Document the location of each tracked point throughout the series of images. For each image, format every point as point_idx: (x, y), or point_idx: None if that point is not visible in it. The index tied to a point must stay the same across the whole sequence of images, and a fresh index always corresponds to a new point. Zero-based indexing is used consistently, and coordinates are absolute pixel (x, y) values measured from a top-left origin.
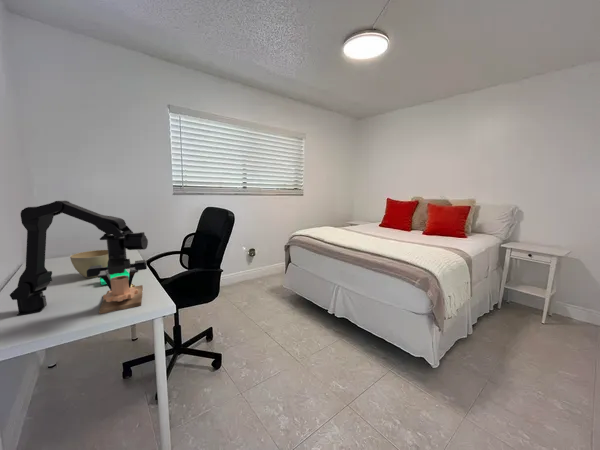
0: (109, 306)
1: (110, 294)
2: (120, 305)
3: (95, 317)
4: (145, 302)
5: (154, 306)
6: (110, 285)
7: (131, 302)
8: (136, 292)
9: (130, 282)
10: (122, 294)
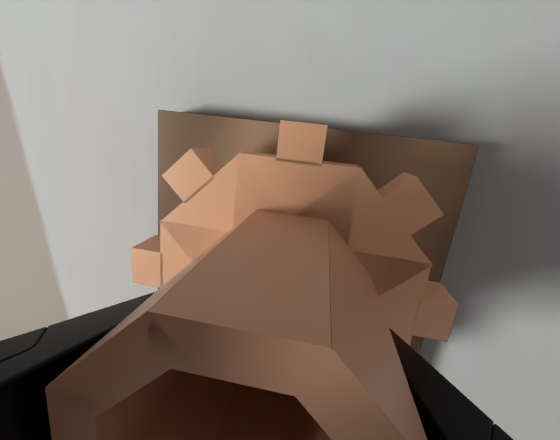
0: (391, 179)
1: (384, 299)
2: None
3: (498, 84)
4: (149, 164)
5: (86, 25)
6: (407, 371)
7: (226, 152)
8: (158, 243)
9: (115, 313)
10: (271, 211)
